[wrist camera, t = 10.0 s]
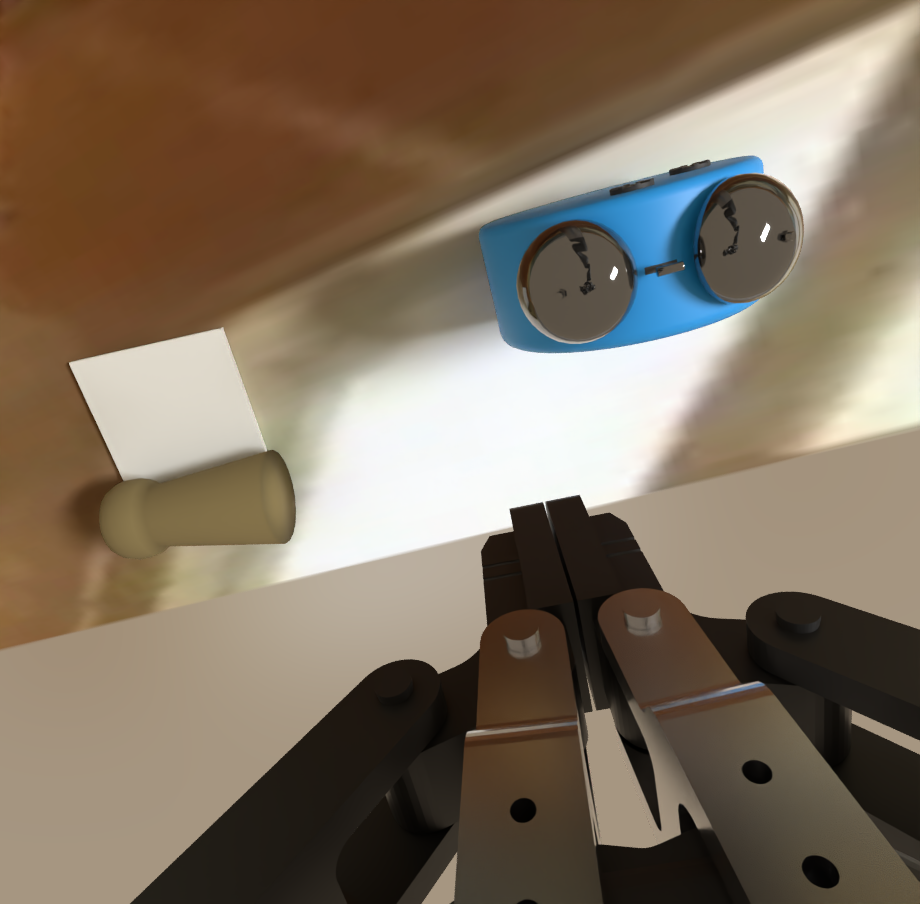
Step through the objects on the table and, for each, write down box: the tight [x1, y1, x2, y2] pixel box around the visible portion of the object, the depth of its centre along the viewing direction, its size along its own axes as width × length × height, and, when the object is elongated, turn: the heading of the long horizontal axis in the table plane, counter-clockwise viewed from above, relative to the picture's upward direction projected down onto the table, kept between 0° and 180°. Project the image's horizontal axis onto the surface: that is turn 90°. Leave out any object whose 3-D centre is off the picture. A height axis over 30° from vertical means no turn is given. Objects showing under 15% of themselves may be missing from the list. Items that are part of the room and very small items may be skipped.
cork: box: [99, 450, 296, 559], centre depth 39 cm, size 6×6×11 cm
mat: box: [69, 327, 267, 483], centre depth 40 cm, size 12×10×1 cm
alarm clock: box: [479, 156, 804, 353], centre depth 30 cm, size 13×6×15 cm, turn 104°
